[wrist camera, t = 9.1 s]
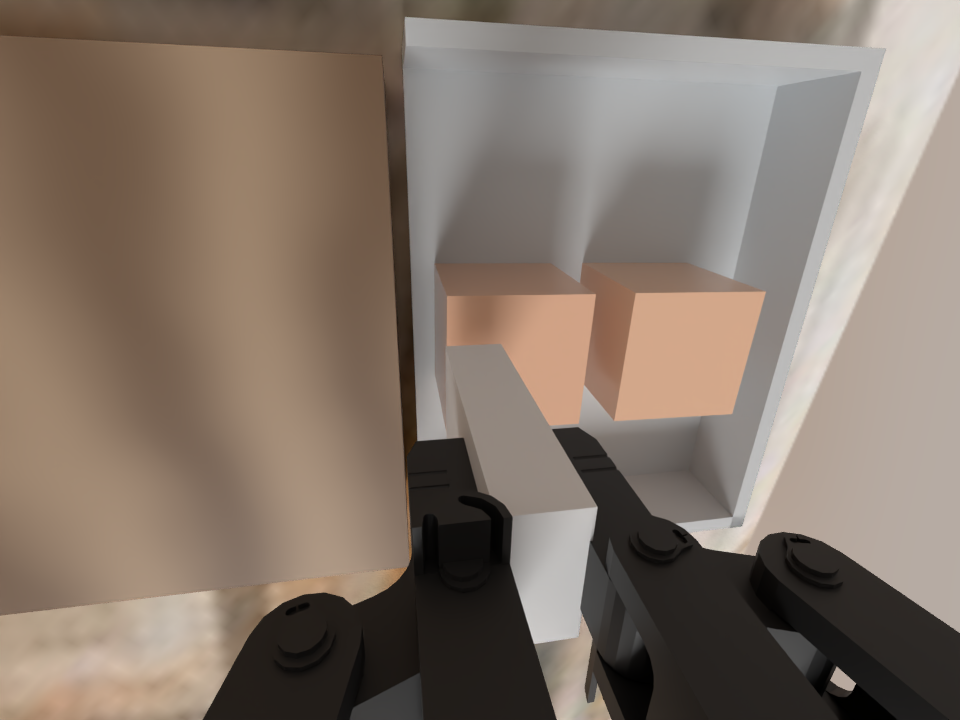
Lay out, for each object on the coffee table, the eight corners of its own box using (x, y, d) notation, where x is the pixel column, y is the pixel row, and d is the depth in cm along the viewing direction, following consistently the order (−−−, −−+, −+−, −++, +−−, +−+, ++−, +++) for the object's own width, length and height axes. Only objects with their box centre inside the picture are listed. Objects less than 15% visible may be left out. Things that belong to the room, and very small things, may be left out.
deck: (64, 512, 20) (-34, 619, 15) (-122, 62, 13) (-385, 14, 9) (405, 481, 22) (409, 566, 17) (384, 84, 16) (382, 55, 11)
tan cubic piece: (540, 369, 20) (434, 373, 19) (550, 262, 18) (434, 263, 18) (578, 423, 16) (446, 431, 15) (595, 294, 14) (447, 295, 14)
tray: (419, 497, 22) (424, 564, 19) (401, 49, 15) (405, 17, 12) (690, 471, 25) (741, 526, 21) (784, 70, 18) (886, 48, 14)
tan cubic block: (732, 414, 17) (666, 363, 21) (766, 291, 15) (687, 262, 19) (614, 421, 16) (569, 367, 20) (635, 293, 14) (582, 262, 19)
